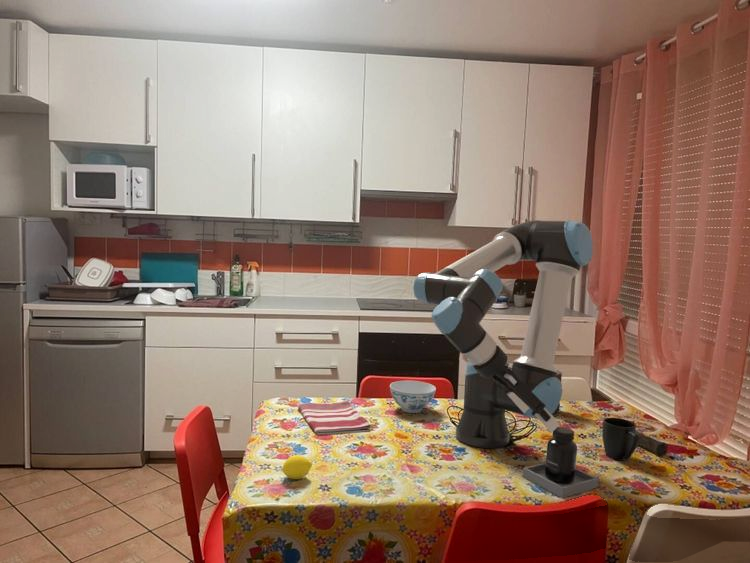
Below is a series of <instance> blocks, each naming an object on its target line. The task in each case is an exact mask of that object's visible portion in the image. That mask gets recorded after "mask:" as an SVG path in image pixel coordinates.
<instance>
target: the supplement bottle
mask: <svg viewBox="0 0 750 563" xmlns="http://www.w3.org/2000/svg"><path fill="white" fill-rule="evenodd" d="M574 439H575V431H574V430H573V429H572V428H568V427H564V426H558V427H557V428H556V429H555V430H554V431H553V432H552V437H551V438H550V439H548V441H547V444H546V445H547V446H546V453H545V454H546V455H545V463H546V465H545V476H546V477H547V478H548V479H549V480H551V481H553V482H556V483H560V484H569V483H572V482H573V481H574V477H575V468H577V456H578V455H577V454H578V446H577V444H576V441H574Z"/></svg>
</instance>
